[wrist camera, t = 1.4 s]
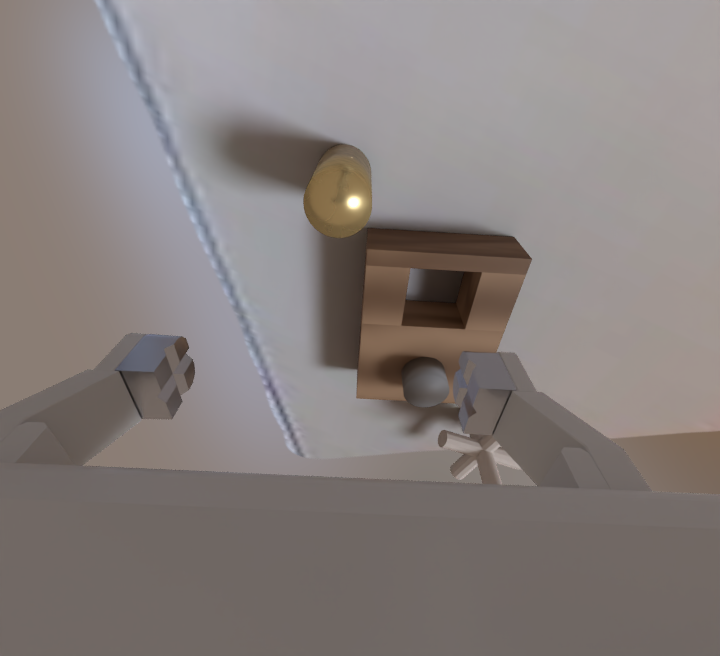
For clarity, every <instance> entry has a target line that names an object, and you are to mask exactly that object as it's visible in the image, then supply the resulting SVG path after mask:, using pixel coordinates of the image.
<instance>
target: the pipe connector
mask: <svg viewBox="0 0 720 656" xmlns="http://www.w3.org/2000/svg"><path fill="white" fill-rule="evenodd" d="M438 444H439V446H440V447H442V448H445V449H449V450H453V451H456V452H460V453H463V454H464V455H462V456H461V457H460V458H459V459H458V460H457V461H456V462H455V463H454V464H453V465H452V466H451V467H450V471H451V473H452V475H453V476H454V477H455V478H457V479H463V478H464V477H465V476H466V475H467V474H468V473H470V472H471V471H472V470H473V469H474V468H475V467H476V466H478V467H479V471H480V475H481V479H482V483H483V484H498V485H503V484H502V481H501V478H500V475H499V472H498V469H497V465H496V463H497V464H501V465H504V466H508V467H511V468H514V469H518V470H521V467H520V466H519V465H518V464H517V463H516V462H515V461H514V460H513V459H512V458H511V457H510V455H509V454H508V453H507V452H506V451H505V450H504V449H503V448H502V447H500V445H499V443H498V442H497V441H496V440H495V439H494V438H493V435H480V434H470V438H469V437H466V436H462V435H459V434H456V433H453V432H449V431H446V430H442V431H441V432H440V434H439V437H438Z"/></svg>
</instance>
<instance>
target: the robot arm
mask: <svg viewBox="0 0 720 656" xmlns="http://www.w3.org/2000/svg"><path fill="white" fill-rule="evenodd" d="M188 349H189V346H188V343H187V340H186V338H184V337H182V336H169V335H155V334H138V333H130V334H127V335H125V337H124V338H123V339H122V340H121V341H120V342H119V343H118V344H117V345H116V346H115V347H114V348H113V349H112V350H111V352H110V353H109V354H108V355H107V356H106V357H105V358H104V359H103V360H102V361H101V362H100V363H99V364H98V365H97V366H96V368H95V369H94V370H86V371H84V372H82V373H79V374H77V375H75V376H73V377H71V378H68V379H66V380H64V381H62V382H60V383H58V384H56V385H53V386H52V387H49V388H47V389H45V390H43V391H41V392H39V393H36V394H34V395H32V396H30V397H28V398H25V399H23V400H21V401H19V402H17V403H15V404H13V405H10V406H8V407H6V408H4V409H2V410H0V656H720V495H719V494H696V493H695V494H694V493H673V492H652V490H651V489H650V487H649V486H648V484H647V483H646V481H645V480H644V479H643V477H642V476H641V474H640V472H639V471H638V470H637V468H636V467H635V465H634V464H633V462H632V461H631V459H630V458H629V456H628V455H627V453H626V452H625V451H624V449H623V448H621V447H620V446H618V445H617V444H616V443H614V442H613V441H611V440H610V439H608V438H607V437H606V436H604V435H603V434H601V433H600V432H598V431H597V430H596V429H594V428H593V427H591V426H590V425H588V424H587V423H585V422H584V421H583V420H581V419H580V418H578V417H577V416H575V415H574V414H573V413H571V412H570V411H568V410H567V409H565V408H564V407H563V406H561V405H560V404H558V403H557V402H555V401H554V400H553V399H551V398H550V397H548V396H547V395H545V394H544V393H542V392H537V391H536V389H535V387H534V386H533V384H532V382H531V380H530V378H529V376H528V375H527V373H526V371H525V369H524V367H523V365H522V364H521V362H520V360H519V358H518V356H517V355H516V354H515V353H506V352H497V353H492V352H471V351H463V352H462V353H461V355H460V358H459V365H460V368H461V369H459V370H458V371H457V372H455V376H454V380H453V396H454V400H455V403H456V404H457V405H458V406H459V407H460V411H459V414H458V416H459V419H460V423H461V426H462V430H463V433H466V434H480V435H493V438H494V439H495V440H496V441H497V442H498V443H499V445H500V446H502V448H503V449H504V450H505V451H506V452H507V453H508V454H509V455H510V457H511V458H512V459H513V460H514V461H515V462H516V463H517V464H518V465H519V466H520V467H521V469H522V470H523V471H524V472H525V473H526V474H527V475H528V476H529V477H530V478H531V479H532V480H533V482H534V483H535V484H536V485H537V486H519V485H498V484H476V483H475V484H473V483H453V482H431V481H409V480H388V479H365V478H343V477H321V476H298V475H277V474H254V473H233V472H211V471H189V470H166V469H145V468H123V467H122V468H121V467H100V466H82V465H84V464H85V463H86V462H88V461H89V460H90V459H92V458H93V457H94V456H96V455H97V454H98V453H99V452H101V451H102V450H103V449H105V448H106V447H107V446H109V445H110V444H111V443H113V442H114V441H115V440H116V439H118V438H119V437H120V436H122V435H123V434H124V433H126V432H127V431H128V430H130V429H131V428H132V427H133V426H135V425H136V424H137V423H139V422H140V421H141V420H142V419H173V417H174V415H175V414H176V412H177V410H178V408H179V406H180V405H181V403H182V399H181V396H180V395H182V394H183V393H185V392H186V391H188V390H189V389H190V387H191V385H192V383H193V379H194V375H195V367H194V362H193V359H192V358H191V357H189V356H188V355H187V354H186V352H187V350H188Z"/></svg>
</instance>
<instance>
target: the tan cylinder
mask: <svg viewBox="0 0 720 656" xmlns="http://www.w3.org/2000/svg"><path fill="white" fill-rule="evenodd" d="M304 210H305V214H306V216H307V218H308V220H309V222H310V223H311V224H312V226H313V227H314V228H315V229H316V230H318V231H319V232H321V233H322V234H324V235H327V236H329V237H334V238H344V237H349V236H352V235H354V234H356V233H357V232H359V231H360V230H361V229H362V228H363V227H364V226H365V225H366V223H367V222H368V220H369V217H370V215H371V210H372V185H371V167H370V164H369V161H368V159H367V158H366V156H365V155H364V154H363V153H362V152H361V151H360V150H359V149H357V148H356V147H354V146H351V145H346V144H341V145H336V146H334V147H331V148H330V149H328V150H327V151H326V152H325V153H324V154H323V156H322V157H321V159H320V161H319V163H318V165H317V167H316V169H315V171H314V173H313V175H312V178H311V180H310V182H309V184H308V186H307V188H306V190H305V194H304Z"/></svg>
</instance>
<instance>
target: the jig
mask: <svg viewBox="0 0 720 656" xmlns="http://www.w3.org/2000/svg"><path fill="white" fill-rule="evenodd" d="M531 260H532V258H531V257H530V256H529V255H528V254H527V252H526V251H525V250H524V249H523V247H522V246H521V245H520V244H519V242H518V241H517V240H516V239H515V238H514V237H506V236H489V235H473V234H457V233H440V232H424V231H408V230H391V229H375V228H368V229H367V243H366V257H365V271H364V285H363V300H362V314H361V328H360V342H359V356H358V371H357V398H360V399H379V400H398V401H407V402H409V403H410V404H412V405H414V406H418V407H431V406H435V405H438V404H440V403H455V400H454V396H453V380H454V376H455V372H457V371H458V370H459V369H461V368H460V365H459V358H460V355H461V353H462V352H463V351H471V352H492V353H496V351H497V349H498V346H499V344H500V341H501V338H502V336H503V333H504V331H505V328H506V325H507V323H508V320H509V318H510V315H511V312H512V310H513V307H514V305H515V302H516V299H517V297H518V294H519V292H520V289H521V286H522V284H523V281H524V279H525V276H526V273H527V271H528V268H529V266H530V263H531ZM410 268H418V269H434V270H451V271H464V274H463V278H462V282H461V286H460V290H459V293H458V297H457V301H456V303H444V302H427V301H409V300H405V299H406V293H407V286H408V280H409V274H410ZM455 404H456V403H455Z"/></svg>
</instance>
